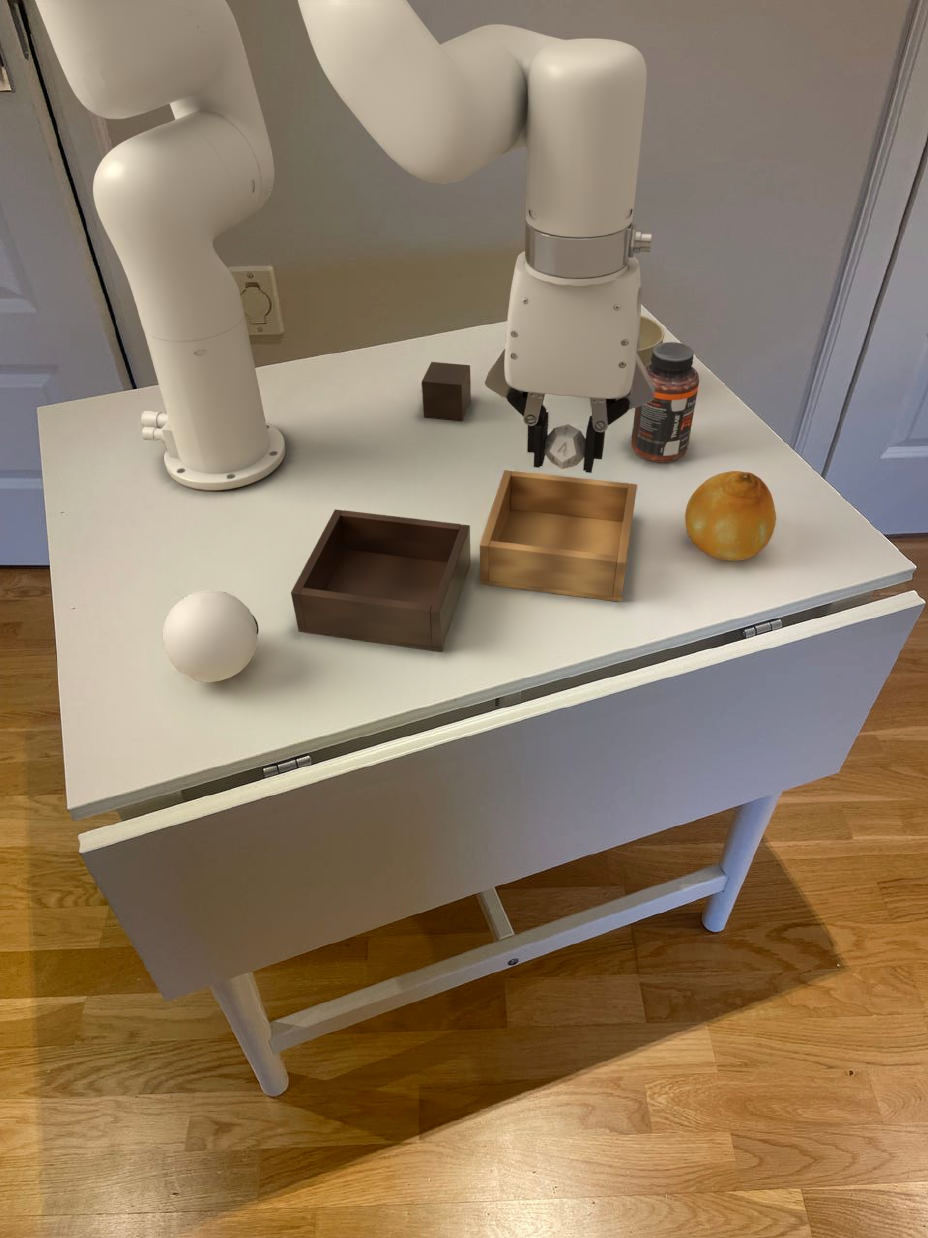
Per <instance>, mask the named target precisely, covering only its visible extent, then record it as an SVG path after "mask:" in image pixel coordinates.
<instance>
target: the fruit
mask: <svg viewBox="0 0 928 1238" xmlns="http://www.w3.org/2000/svg"><path fill="white" fill-rule="evenodd" d="M772 495H773V494H772V493H771V490H770V489H769V487H768V486H767V484H766V483H765V481H764V480H762V479H761V477H759V476H757V475H755V474H754V473H753V472H747V471H741V470H730V471H725V472H721V473H717V474H715V475H712V476H711V477H709V478H708V479H706V480H705V481H704V482H702V483H701V484H700V485H699V486H698V487H697V488H696V489H695V491H694V492H693V493H692V495H691V496H690V498H689V499H688V502H687V504H686V507H685V513H684V514H685V515H684V523H685V528H686V532H687V535H688V537H689V538H690V540H691V542H692V543H693V544H694V545H695V546H696V548H697V549H698V550H700V551H701V552H703V553H705V554H707V555H708V556H710V557H712V558H715V559H719V560H722V561H728V562H729V561H730V562H738V561H743V560H744V561H745V560H749V559H750V558H753V557H754V556H755V557H756V555H758V554H759V553H760V552H761V551H762V550H764V548H765V547H767V546H768V544H769V542H770V540H771V539H772V537H773V535H774V533H775V528H776V523H777V512H776V509H775V507H776V506H775V502H774V498H773V496H772Z"/></svg>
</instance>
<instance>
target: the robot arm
mask: <svg viewBox="0 0 928 1238" xmlns="http://www.w3.org/2000/svg"><path fill="white" fill-rule="evenodd" d="M34 1H35V4H36V6H37V9H38V11H39V14H40V17H41V19H42V21H43V25H44V27H45V29H46V33H47V35H48V37H49V40H50V43H51V45H52V47H53V50H54V53H55V55H56V58H57V60H58V62H59V65H60V66H61V69H62V72H63V74H64V76H65V78H66V80H67V82H68V85H69V87H70V89H71V90H72V92H73V94H74V95H75V97H76V98H77V99H78V100H79V102H80V103H81V104H82V106H83V107H85V108H86V109H87V110H88V111H89V112H91V113H92V114H94V115H96V116H98V117H100V118H104V119H108V120H123V119H124V120H125V119H128V118H133V117H137V116H139V115H143V114H146V113H149V112H151V111H155V110H157V109H159V108H160V109H161V108H162V107H165V106H167V105H169V106H170V108H171V111H172V114H173V117H174V120H172V121H169V122H166V123H163V124H159V125H158V126H155V127H153V128H150V129H148V130H145V131H143V132H141V133H139V134H136V135H134V136H132V137H129V138H128V139H126V140H123V142H120V143H118V144H117V145H116V146H115V147H113V148H112V149H111V150H110V151H109V152H108V153H106V155H105V156H104V157H103V158H102V160H101V161H100V163H99V165H98V166H97V169H96V171H95V172H94V173H95V174H94V177H93V183H92V196H93V202H94V205H95V209H96V212H97V215H98V218H99V220H100V222H101V224H102V227H103V228H104V231H105V233H106V234H107V237H108V238H109V241H110V242H111V245H112V246H113V248H114V250H115V253H116V254H117V257H118V258H119V261H120V263H121V265H122V268H123V271H124V273H125V276H126V278H127V281H128V284H129V287H130V290H131V293H132V296H133V299H134V303H135V306H136V309H137V313H138V317H139V320H140V323H141V327H142V329H143V332H144V336H145V339H146V340H145V341H146V344H147V348H148V350H149V354H150V359H151V361H152V365H153V368H154V372H155V376H156V379H157V383H158V387H159V390H160V393H161V394H160V395H161V397H162V401H163V405H164V408H165V411H166V413H164V412H163V411H153V410H144V411H143V412H142V413H141V416H140V417H141V418H140V422H141V426H142V429H141V435H142V436H141V437H142V439H143V440H144V441H154V442H157V441H159V442H163V444H164V445H166V449H165V451H164V456H163V458H164V459H163V460H164V465H165V468H166V471H167V473H168V474H169V476H170V477H171V479H173V480H174V481H176V482H177V483H179V484H181V485H183V486H185V487H187V488H192V489H196V490H203V491H222V490H224V491H225V490H232V489H236V488H241V487H244V486H248V485H250V484H254V483H256V482H258V481H260V480H263V479H264V478H266V477H267V476H268V475H270V474H271V473H273V472H274V471H275V470H276V469H277V468H278V467H279V466H280V464H281V463H282V462H283V460H284V458H285V456H286V450H287V449H286V444H285V443H286V442H285V437H284V435H283V434H282V432H281V431H280V430H279V429H278V428H277V427H276V426H274V425H273V424H271V423H269V422H267V421H266V417H265V412H264V407H263V406H264V405H263V402H262V396H261V391H260V386H259V380H258V375H257V372H256V371H257V370H256V365H255V359H254V355H253V350H252V345H251V340H250V335H249V330H248V324H247V319H246V315H245V310H244V306H243V301H242V296H241V292H240V289H239V286H238V283H237V281H236V279H235V277H234V276H233V274H232V272H231V271H230V269H229V268H228V267H227V266H226V265H225V263H224V262H223V260H222V259H221V258H220V257H219V255H218V254H217V251H216V250H215V247H214V240H215V238H217V237H219V236H220V235H221V234H223V233H224V232H226V231H228V229H231V228H232V227H234V226H236V225H238V224H240V223H241V222H243V221H244V220H246V219H248V218H249V217H251V216H253V215H254V214H255V213H257V212H258V211H259V210H261V209H262V207H264V206H265V204H266V203H267V202H268V200H269V199H270V196H271V195H272V192H273V189H274V183H275V163H274V155H273V151H272V146H271V142H270V137H269V134H268V130H267V125H266V122H265V119H264V115H263V112H262V108H261V104H260V101H259V97H258V93H257V90H256V86H255V82H254V78H253V75H252V71H251V67H250V63H249V59H248V55H247V53H246V49H245V46H244V42H243V39H242V35H241V33H240V30H239V26H238V24H237V21H236V18H235V16H234V14H233V12H232V10H231V8H230V6H229V4H228V2H227V1H226V0H34ZM297 4H298V7H299V10H300V13H301V14H300V15H301V16H302V20H303V22H304V26H305V29H306V31H307V34H308V38H309V40H310V44H311V45H312V49H313V51H314V54H315V56H316V58H317V61H318V63H319V65H320V67H321V69H322V71H323V73H324V74H325V76H326V78H327V79H328V81H329V83H330V85H331V86H332V87H333V89H334V90H335V92H336V93H337V94H338V96H339V97H340V99H341V100H342V101H343V102H344V104H345V105H346V106H347V107H348V109H349V110H350V111H351V112H352V114H353V115H354V117H356V119H357V120H358V121H359V123H360V124H361V125H362V126H363V127H364V129H365V130H366V131H367V133H368V134H369V135H370V136H371V137H372V138H373V140H374V141H375V142H376V143H377V145H378V146H379V147H380V148H381V149H382V150H383V151H384V153H386V154H387V155H388V157H390V158H391V159H392V161H393V162H395V163H396V164H397V165H399V166H400V167H401V169H403V170H405V172H407V173H408V174H409V175H410V174H411V175H412V176H414V177H415V178H417V179H419V180H421V181H424V182H427V183H429V184H433V185H450V184H455V183H459V182H462V181H464V180H466V179H468V178H469V177H471V176H474V174H476V173H477V172H479V171H480V170H482V169H483V168H485V167H486V166H487V165H489V164H490V163H492V162H493V161H494V160H495V159H496V158H498V157H500V156H502V155H505V154H507V153H510V152H512V151H515V150H517V149H520V148H524V147H525V148H526V168H525V169H526V171H525V172H526V175H525V228H524V229H525V231H524V232H525V233H524V251H522V252H521V253H519V254H518V255H517V257H516V261H515V265H514V270H513V276H512V281H511V288H510V292H509V301H508V309H507V320H506V331H505V343H504V345H505V346H504V349H503V350H502V352H501V353H500V355H499V356H498V358H497V359H496V361H495V362H494V364H493V365H492V366H491V368H490V370H488V373H487V375H486V378H485V380H484V385H485V387H486V388H487V389H489V390H491V392H492V391H493V392H494V393H495V394H497V395H498V396H500V397H501V398H505V399H506V400H507V402H508V403H509V404H510V406H512V407H513V408H514V409H515V410H516V412H518V414H519V415H521V416H522V418H523V423H524V424H525V425H526V426H527V437H526V438H527V441H526V442H527V443H526V444H527V445H526V453H531V454H533V468H539V469H541V467H543V466H544V461H545V458H546V455H545V453H544V448H545V442H546V437H547V436H548V435H549V418H550V417H549V414H550V412H549V411H547V410H548V409H547V407H546V406H545V405H544V402H545V401H544V400H545V396H546V395H554V396H562V397H563V396H565V397H575V398H588V399H590V400H589V401H590V410H591V415H589V418H588V422H587V427H586V431H585V453H584V458H583V466H582V467H583V469H582V470H583V471H584V472H585V473H588V474H592V473H593V467H594V464H595V463H594V462H595V460H601V461H602V460H603V457H604V450H605V449H604V448H605V437H606V431H607V430H608V428H609V426H610V425H612V424H613V423H614V422H616V421H617V420H619V419H620V418H621V417H623V416H624V415H626V414H627V413H628V412H629V411H630V410H631V409H635V408H636V407H639V406H641V405H643V404H646V403H648V402H651V401H652V400H653V399H654V395H655V386H654V384H653V382H652V380H651V378H650V376H649V374H648V373H647V371H646V369H645V367H644V365H643V363H642V361H641V359H640V357H639V355H638V348H639V335H640V317H641V315H642V280H641V268H640V261H639V260H638V259H637V257H635V256H634V254H640V252H642V253H651V247H652V240H653V231H643V228H637V227H638V224H634V218H635V216H634V211H635V203H636V202H635V201H636V193H637V192H636V191H637V183H638V175H639V173H638V172H639V163H640V152H641V143H642V133H643V124H644V113H645V104H646V103H645V101H646V92H647V79H648V78H647V76H648V71H647V64H646V61H645V58H644V56H643V54H642V53H641V52H640V51H639V49H638V48H636V47H635V46H633V45H632V44H629V43H627V42H624V41H620V40H616V39H608V38H594V37H593V38H592V37H591V38H585V37H584V38H572V39H562V38H558V37H554V36H550V35H547V34H543V33H540V32H536V31H533V30H530V29H526V28H523V27H519V26H514V25H509V24H501V23H497V24H496V23H495V24H494V23H493V24H487V25H483V26H479V27H476V28H474V29H471V30H469V31H468V32H465V33H464V34H461V35H459V36H457V37H454V38H452V39H449V40H447V41H445V42H443V43H439V42H438V40H437V39H436V38H435V37H434V35H433V34H432V33H431V32H430V30H429V29H428V27H427V26H426V25H425V24H424V22H423V21H422V20H421V18H420V17H419V16H418V14H417V13H416V11H415V10H414V9H413V7H412V6H411V5H410V4H409V2H408V0H297ZM631 386H632V388H631Z"/></svg>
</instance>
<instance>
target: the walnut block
mask: <svg viewBox="0 0 928 1238" xmlns="http://www.w3.org/2000/svg"><path fill="white" fill-rule="evenodd" d="M471 383H472V381H471V365H470V364H461V363H448V362H440V361H439V362H438V361H431V362H430V364H429V365H428V367H427V370H426V372H425V374H424V376H423V378H422V380H421V394H422V409H423V410H422V412H423V418H430V419H439V420H440V419H441V420H448V421H449V420H450V421H460V422H462V421H464V418H465V416H466V413H467V411H468V409H469V406H470V404H471V402H472V388H471V387H472V386H471V385H472V384H471Z"/></svg>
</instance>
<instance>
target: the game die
mask: <svg viewBox="0 0 928 1238" xmlns="http://www.w3.org/2000/svg"><path fill="white" fill-rule="evenodd" d="M585 439H586V436H585V435H584V434H583V432H582V431H581V430H580V429H578V428H576V427H575V426H573V425H571V424H569V423H568V424H567V423H566V424H563V425H560V426H556V427H555V426H554V427H553V428H552V429H551V431H549V432H548V436H547V437H546V442H545V448H544V453H545V457H547V459H548V460H549V462H550V463H551V464H552V465H555V466H556V467H558V468H559V469H561V470H565V469H569V468H572V467H577V466H578V465H579V464H580V463H581V461H583V460H584V453H585Z"/></svg>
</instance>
